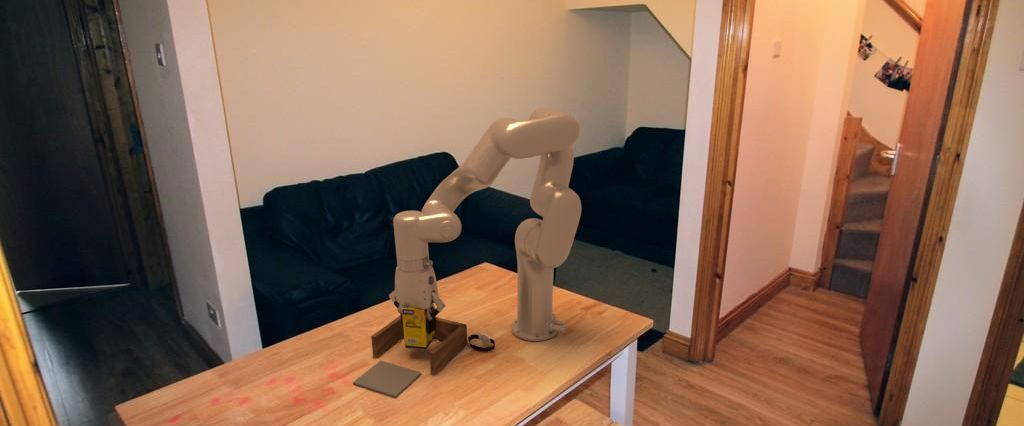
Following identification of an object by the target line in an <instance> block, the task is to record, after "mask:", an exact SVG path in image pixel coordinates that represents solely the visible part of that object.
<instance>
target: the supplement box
mask: <svg viewBox="0 0 1024 426" xmlns="http://www.w3.org/2000/svg"><path fill="white" fill-rule="evenodd" d="M429 310H430V309H429ZM430 312H431V310H430ZM431 313H432V312H431ZM402 318H403V329H404V338H403V339H404V348H407V349H416V350H417V349H418V350H424V351H426V350H428V349H429V347H430V345H431V344H432V342H433V341H434V340H435V339H434V338H435V334H434V331H433V332H432V333H430V334H427V330H426V319H427V316H426V313H425V309H419V308H415V307H410V306H406V305H405V306H404V307H403V308H402Z"/></svg>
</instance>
